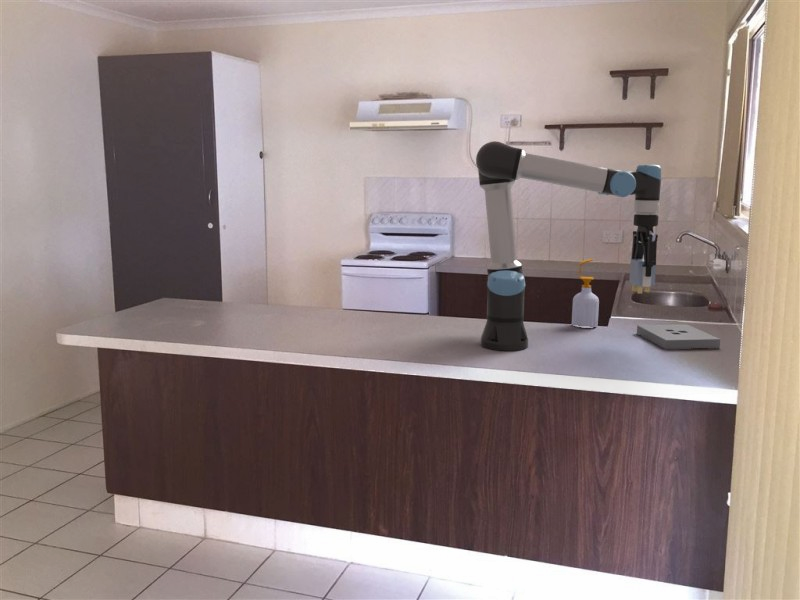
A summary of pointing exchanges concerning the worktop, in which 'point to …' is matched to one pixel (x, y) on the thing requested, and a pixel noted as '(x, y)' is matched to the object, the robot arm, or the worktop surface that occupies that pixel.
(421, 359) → the worktop surface
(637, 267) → the plug
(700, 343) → the socket plate
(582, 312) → the soap bottle
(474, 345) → the worktop surface
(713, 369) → the worktop surface
